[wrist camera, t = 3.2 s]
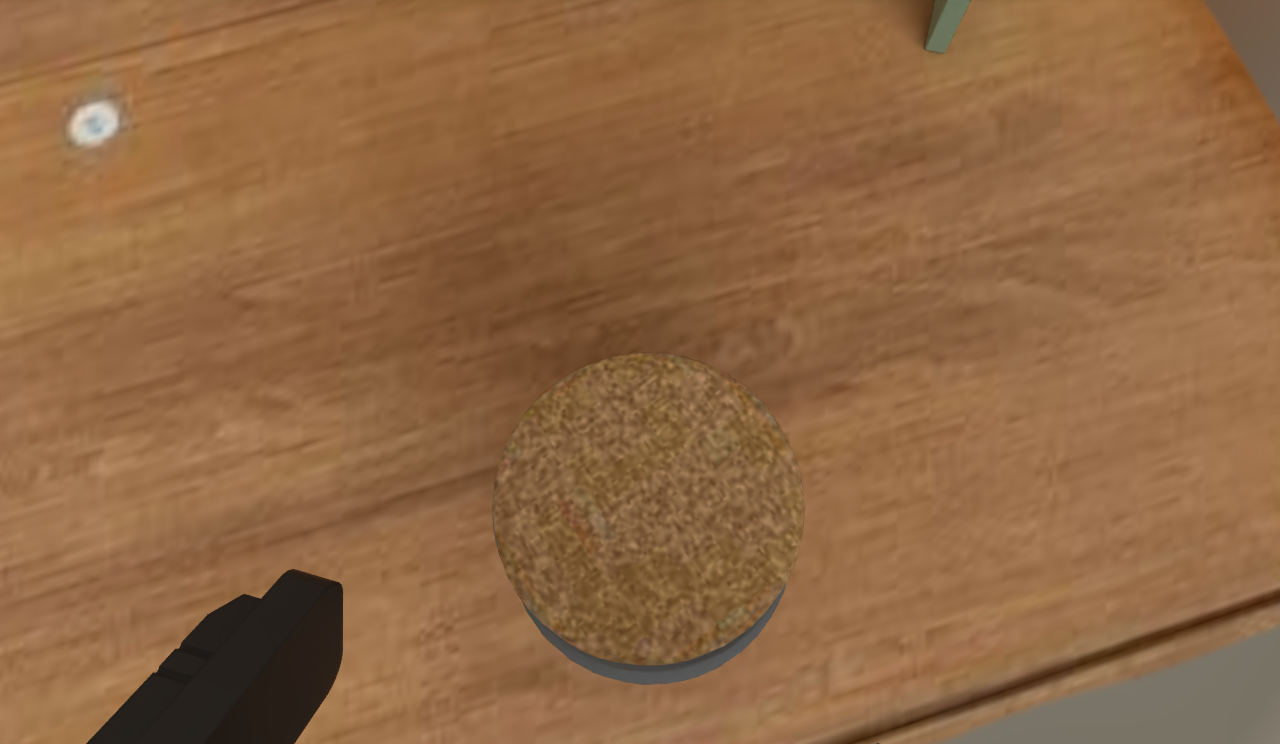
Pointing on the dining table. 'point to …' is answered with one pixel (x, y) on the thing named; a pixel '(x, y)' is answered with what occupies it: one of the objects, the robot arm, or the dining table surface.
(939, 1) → the green u-shaped frame
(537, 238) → the dining table surface
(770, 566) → the bottle
